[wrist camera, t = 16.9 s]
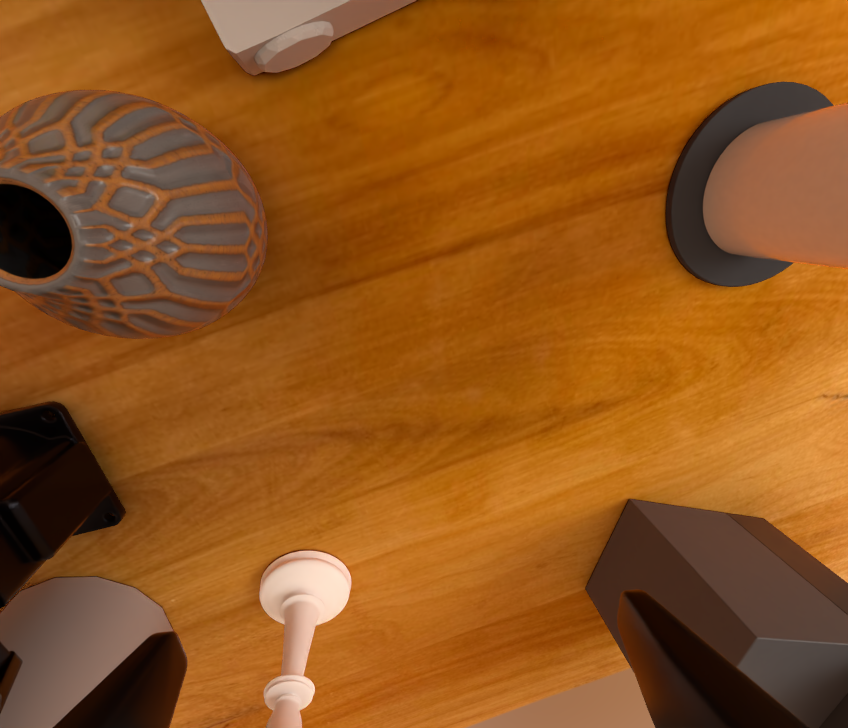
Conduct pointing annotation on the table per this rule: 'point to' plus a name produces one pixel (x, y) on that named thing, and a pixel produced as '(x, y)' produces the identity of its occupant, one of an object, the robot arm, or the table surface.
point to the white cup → (784, 190)
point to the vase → (124, 215)
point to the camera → (288, 28)
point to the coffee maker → (737, 599)
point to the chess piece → (299, 623)
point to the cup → (70, 643)
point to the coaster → (694, 173)
